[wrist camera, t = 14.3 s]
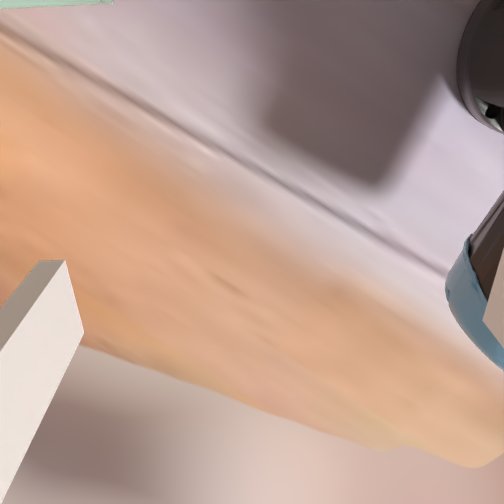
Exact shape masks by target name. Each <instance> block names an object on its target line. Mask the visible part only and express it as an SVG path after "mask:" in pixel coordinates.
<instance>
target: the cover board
mask: <svg viewBox="0 0 504 504" xmlns="http://www.w3.org/2000/svg"><path fill="white" fill-rule="evenodd" d="M95 4H114V3H113V0H0V9H15V8H35V7H55V6H75V5H95Z"/></svg>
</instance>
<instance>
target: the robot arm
mask: <svg viewBox="0 0 504 504" xmlns="http://www.w3.org/2000/svg"><path fill="white" fill-rule="evenodd" d="M457 80H458V86H459V90H460V94H461V97H462V99H463V101H464V103H465V105H466V107H467V109H468V110H469V111H470V113H471V114H472V115H473V116H474V117H475V118H476V119H477V120H478V121H479V122H481V123H482V124H483V125H485V126H487V127H489V128H491V129H493V130H495V131H497V132H499V133H502V134H504V0H481V1H480V3H479V4H478V6H477V7H476V9H475V11H474V12H473V14H472V16H471V18H470V20H469V22H468V24H467V26H466V29H465V31H464V34H463V37H462V40H461V44H460V48H459V53H458V60H457ZM445 292H446V298H447V300H448V302H449V307H450V310H451V312H452V314H453V316H454V317H455V319H456V321H457V322H458V324H459V325H460V327H461V328H462V330H463V331H464V332H465V333H466V335H467V336H468V337H469V338H470V339H471V341H472V342H473V343H474V344H475V345H476V346H477V347H478V348H479V349H480V350H481V351H482V352H483V353H484V354H485V355H486V356H487V357H488V358H489V359H490V360H491V361H492V362H494V363H495V364H496V365H497V366H498V367H499V368H501V369H502V370H503V371H504V191H503V192H502V194H501V195H500V196H499V198H498V199H497V201H496V202H495V204H494V205H493V207H492V208H491V209H490V211H489V212H488V214H487V215H486V217H485V218H484V220H483V221H482V223H481V224H480V225H479V227H478V228H477V230H476V231H475V232H474V234H471V235H470V236H469V237H468V238H467V240H466V241H465V243H464V247H463V250H462V252H461V254H460V255H459V257H458V259H457V260H456V262H455V264H454V265H453V267H452V269H451V270H450V272H449V273H448V276H447V278H446V282H445ZM83 334H84V330H83V326H82V322H81V319H80V315H79V311H78V307H77V304H76V300H75V296H74V292H73V288H72V285H71V281H70V277H69V273H68V270H67V266H66V262H65V260H45V261H38V263H37V264H36V265H35V266H34V268H33V269H32V270H31V271H30V273H29V274H28V275H27V276H26V278H25V279H24V280H23V281H22V283H21V284H20V285H19V286H18V287H17V289H16V290H15V291H14V292H13V294H12V295H11V296H10V297H9V299H8V300H7V301H6V302H5V304H4V305H3V306H2V307H1V309H0V504H1V503H2V501H3V498H4V496H5V494H6V492H7V490H8V488H9V486H10V484H11V482H12V480H13V478H14V476H15V474H16V472H17V470H18V468H19V466H20V464H21V461H22V459H23V457H24V455H25V453H26V451H27V449H28V447H29V445H30V443H31V441H32V438H33V436H34V435H35V433H36V431H37V429H38V427H39V425H40V423H41V420H42V418H43V416H44V414H45V412H46V410H47V408H48V406H49V404H50V402H51V400H52V398H53V396H54V394H55V391H56V390H57V388H58V385H59V383H60V381H61V379H62V377H63V375H64V373H65V371H66V369H67V367H68V365H69V363H70V361H71V359H72V357H73V355H74V352H75V351H76V349H77V346H78V344H79V342H80V340H81V338H82V336H83Z"/></svg>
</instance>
